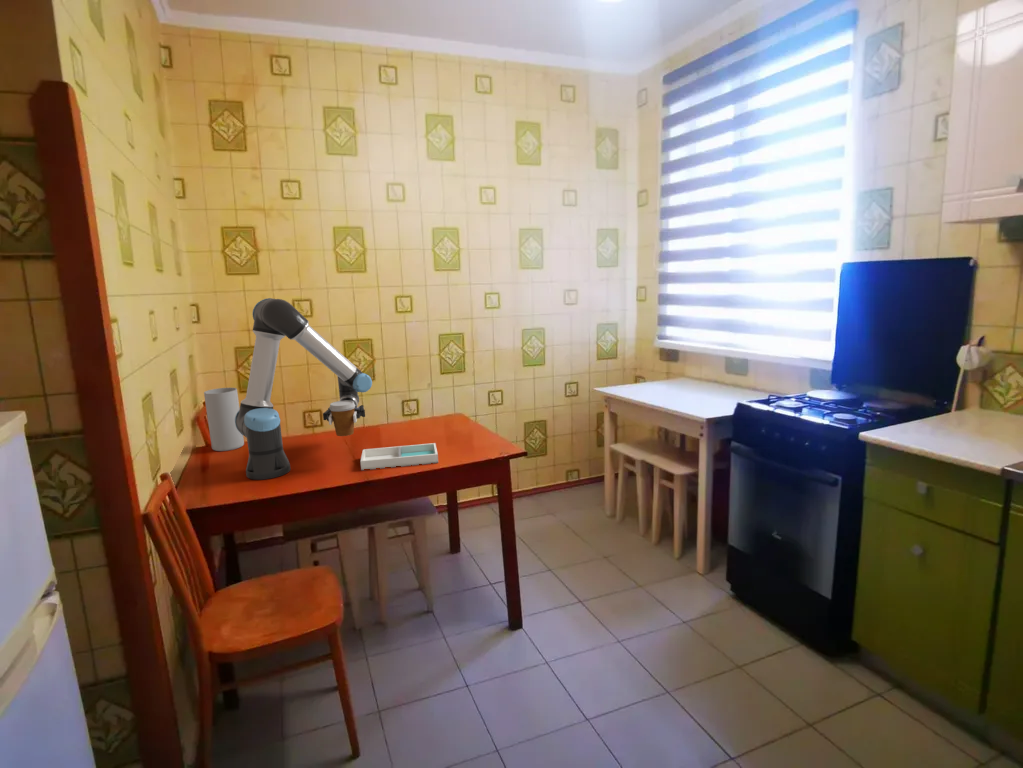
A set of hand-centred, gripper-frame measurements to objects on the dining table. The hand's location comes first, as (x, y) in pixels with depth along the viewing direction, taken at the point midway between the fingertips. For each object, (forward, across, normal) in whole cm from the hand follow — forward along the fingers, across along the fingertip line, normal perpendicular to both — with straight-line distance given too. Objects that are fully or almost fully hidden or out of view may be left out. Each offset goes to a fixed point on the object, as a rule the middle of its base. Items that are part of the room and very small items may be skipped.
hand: (342, 420), depth 206 cm
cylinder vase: (-44, +53, -19) cm, 71 cm away
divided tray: (-3, -20, -19) cm, 27 cm away
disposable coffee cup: (-5, 0, -7) cm, 8 cm away
